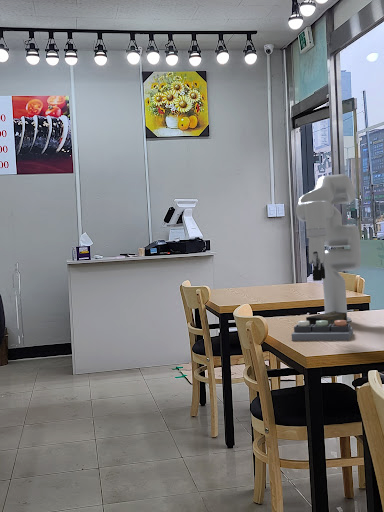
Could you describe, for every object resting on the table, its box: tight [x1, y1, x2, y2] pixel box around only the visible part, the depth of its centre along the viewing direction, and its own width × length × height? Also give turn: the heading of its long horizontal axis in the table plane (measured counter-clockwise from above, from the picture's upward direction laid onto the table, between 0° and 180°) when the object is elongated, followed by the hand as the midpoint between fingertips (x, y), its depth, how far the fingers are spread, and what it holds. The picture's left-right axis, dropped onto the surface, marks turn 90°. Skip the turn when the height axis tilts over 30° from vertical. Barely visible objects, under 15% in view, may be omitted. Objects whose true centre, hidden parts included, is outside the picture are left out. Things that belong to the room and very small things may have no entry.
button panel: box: [291, 323, 354, 342], centre depth 241 cm, size 14×21×4 cm, turn 70°
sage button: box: [316, 320, 328, 327], centre depth 241 cm, size 4×4×2 cm
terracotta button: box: [335, 320, 348, 326], centre depth 239 cm, size 4×4×2 cm
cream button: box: [297, 320, 310, 327], centre depth 244 cm, size 4×4×2 cm
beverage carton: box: [305, 311, 348, 325], centre depth 259 cm, size 8×19×7 cm, turn 134°
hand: (319, 279), depth 241 cm, fingers open, 7 cm apart
